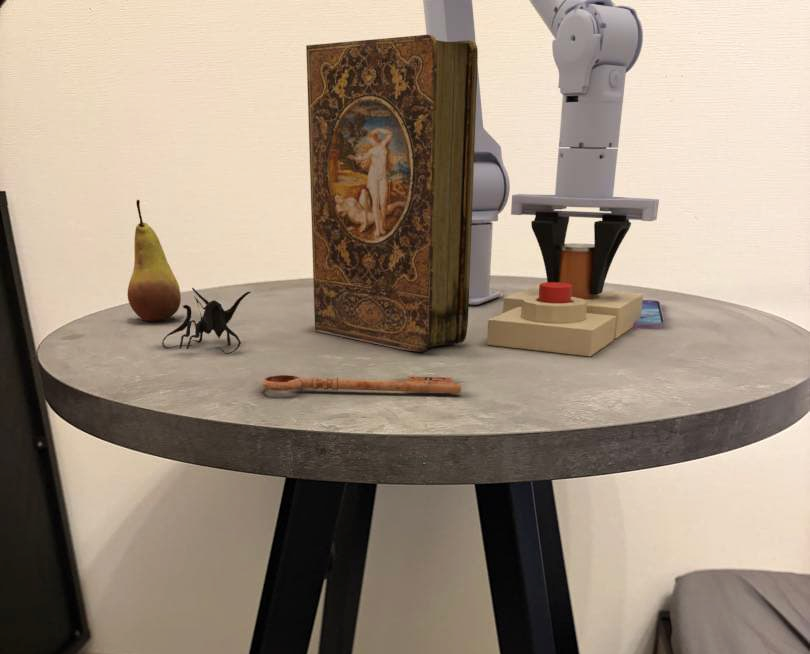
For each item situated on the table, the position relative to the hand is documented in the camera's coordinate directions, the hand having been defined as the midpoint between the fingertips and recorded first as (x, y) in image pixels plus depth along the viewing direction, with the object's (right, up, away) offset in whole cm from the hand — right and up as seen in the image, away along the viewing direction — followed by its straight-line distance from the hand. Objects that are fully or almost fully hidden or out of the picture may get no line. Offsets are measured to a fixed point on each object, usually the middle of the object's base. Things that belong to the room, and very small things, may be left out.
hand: (575, 291), depth 90 cm
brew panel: (-4, -7, -7) cm, 11 cm away
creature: (-36, -8, -11) cm, 38 cm away
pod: (0, -1, +1) cm, 1 cm away
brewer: (0, -3, +1) cm, 3 cm away
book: (-20, -6, -6) cm, 22 cm away
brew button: (-4, -4, -9) cm, 10 cm away
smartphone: (+7, -1, +7) cm, 11 cm away
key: (-21, -14, -24) cm, 35 cm away
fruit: (-44, -3, +1) cm, 44 cm away
